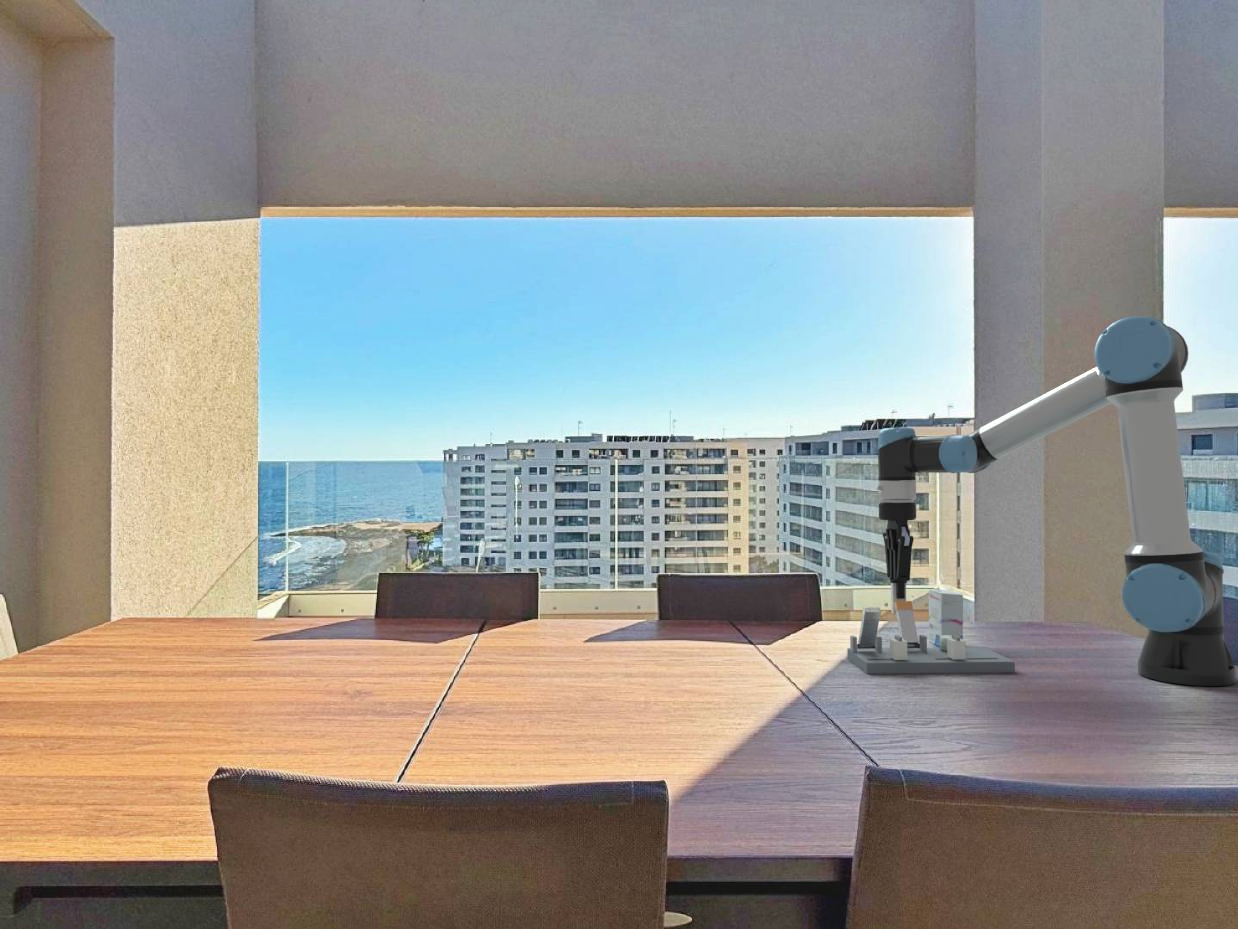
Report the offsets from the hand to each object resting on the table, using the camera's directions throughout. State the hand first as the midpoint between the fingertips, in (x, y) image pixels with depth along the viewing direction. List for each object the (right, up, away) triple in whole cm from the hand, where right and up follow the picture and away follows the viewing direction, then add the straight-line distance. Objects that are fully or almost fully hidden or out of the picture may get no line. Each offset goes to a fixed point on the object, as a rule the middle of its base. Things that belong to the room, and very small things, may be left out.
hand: (898, 613), depth 183 cm
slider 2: (+6, -6, -16) cm, 18 cm away
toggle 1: (-9, -5, -8) cm, 13 cm away
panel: (+2, -8, -12) cm, 14 cm away
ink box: (+13, -9, +8) cm, 18 cm away
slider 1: (-5, -6, -16) cm, 17 cm away
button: (+8, -6, -8) cm, 13 cm away
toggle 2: (0, -5, -8) cm, 9 cm away
